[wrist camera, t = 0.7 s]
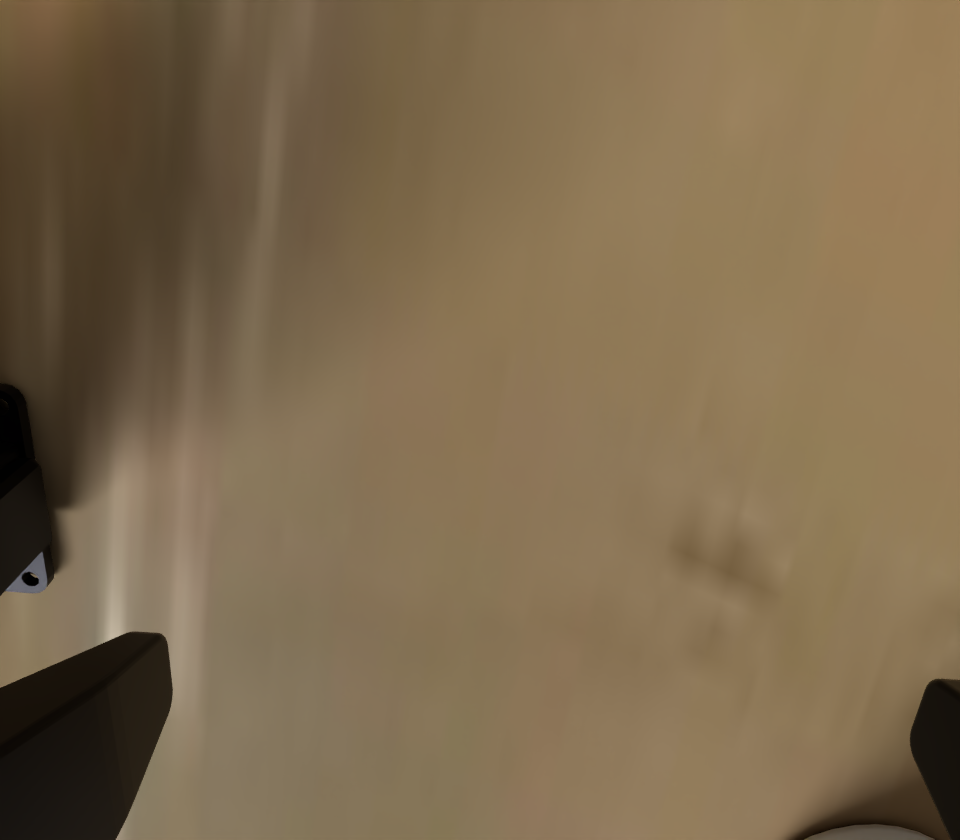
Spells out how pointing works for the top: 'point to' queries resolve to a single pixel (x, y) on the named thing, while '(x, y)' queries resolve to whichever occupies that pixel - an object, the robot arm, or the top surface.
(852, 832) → the milk bottle
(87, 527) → the top surface
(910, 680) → the top surface
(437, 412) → the top surface
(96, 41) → the top surface
